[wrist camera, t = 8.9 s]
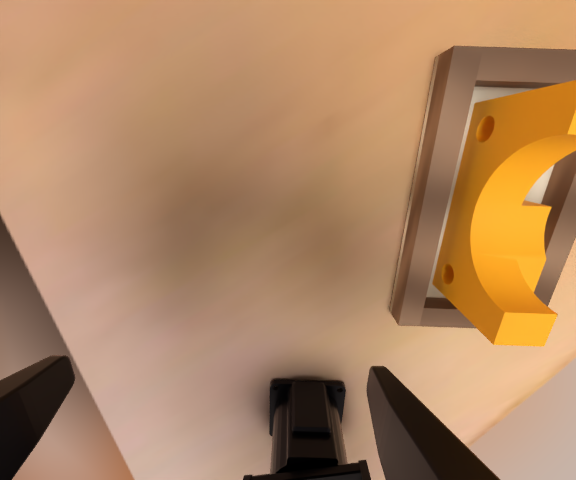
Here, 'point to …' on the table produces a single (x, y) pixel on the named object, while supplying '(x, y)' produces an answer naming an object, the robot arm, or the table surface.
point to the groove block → (446, 162)
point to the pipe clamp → (505, 213)
